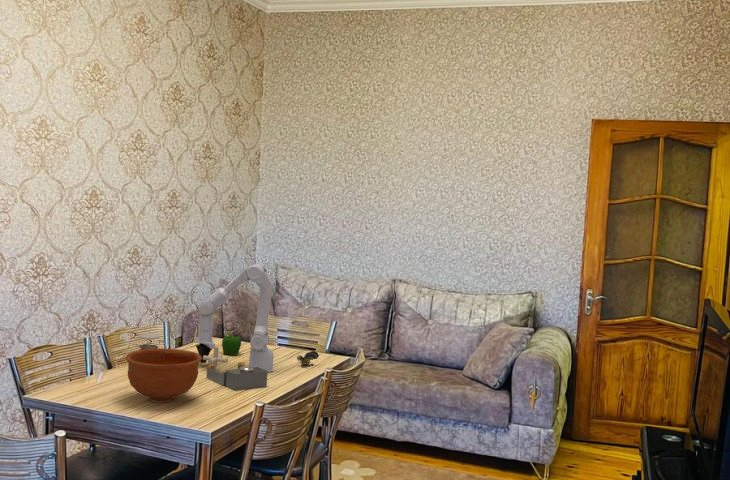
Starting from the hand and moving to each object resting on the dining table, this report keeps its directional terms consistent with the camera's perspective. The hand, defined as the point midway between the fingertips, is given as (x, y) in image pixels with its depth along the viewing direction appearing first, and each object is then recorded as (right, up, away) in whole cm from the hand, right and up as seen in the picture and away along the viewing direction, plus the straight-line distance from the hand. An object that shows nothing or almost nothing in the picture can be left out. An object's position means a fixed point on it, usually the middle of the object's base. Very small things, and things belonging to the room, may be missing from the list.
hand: (203, 362), depth 294 cm
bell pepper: (+6, -1, +26) cm, 27 cm away
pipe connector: (+6, -3, -8) cm, 10 cm away
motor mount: (+18, -4, -21) cm, 28 cm away
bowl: (-3, -4, -51) cm, 52 cm away
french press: (-18, -1, -15) cm, 23 cm away
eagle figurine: (+42, -5, +16) cm, 45 cm away
